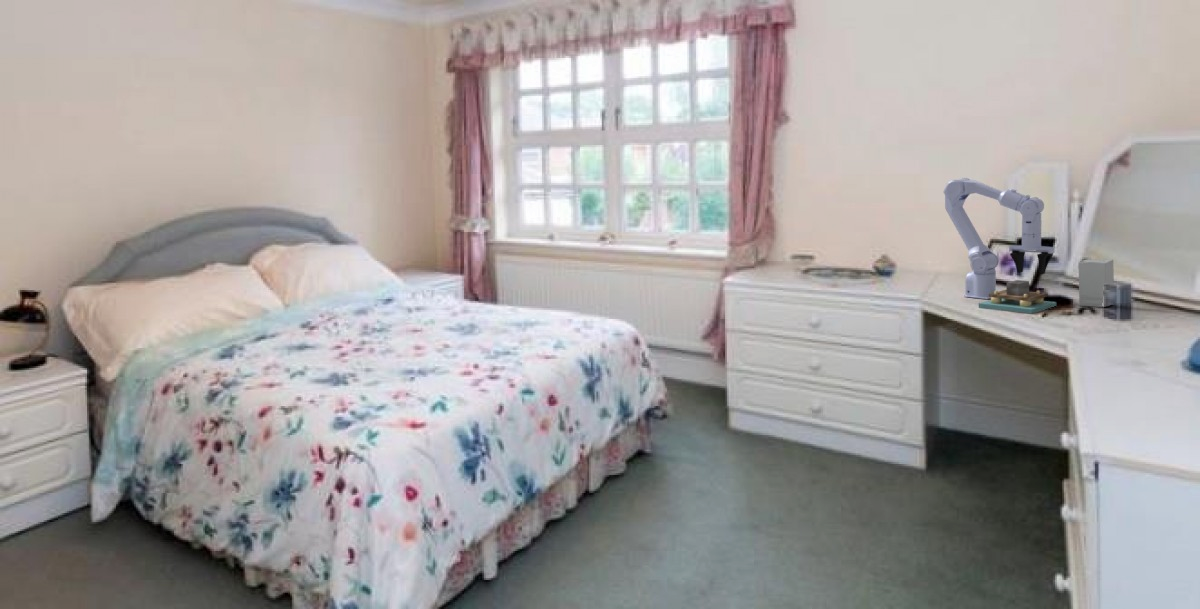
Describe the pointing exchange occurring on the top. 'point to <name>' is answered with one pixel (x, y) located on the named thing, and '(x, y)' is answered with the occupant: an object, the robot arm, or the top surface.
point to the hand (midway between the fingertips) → (1030, 273)
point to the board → (1029, 296)
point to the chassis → (1017, 304)
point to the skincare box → (1094, 281)
